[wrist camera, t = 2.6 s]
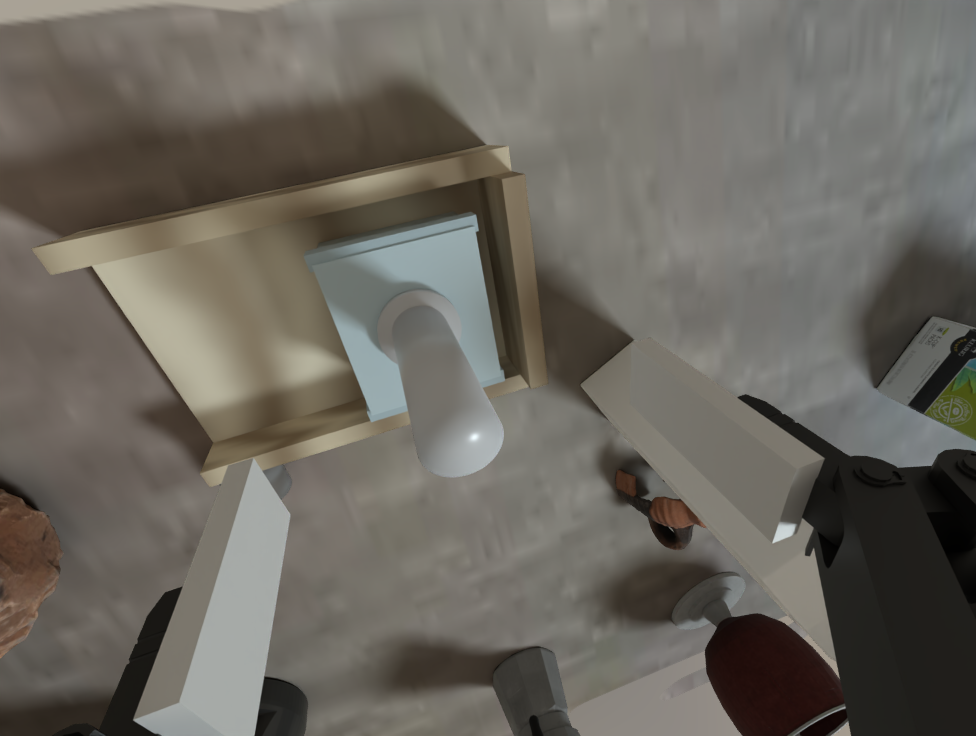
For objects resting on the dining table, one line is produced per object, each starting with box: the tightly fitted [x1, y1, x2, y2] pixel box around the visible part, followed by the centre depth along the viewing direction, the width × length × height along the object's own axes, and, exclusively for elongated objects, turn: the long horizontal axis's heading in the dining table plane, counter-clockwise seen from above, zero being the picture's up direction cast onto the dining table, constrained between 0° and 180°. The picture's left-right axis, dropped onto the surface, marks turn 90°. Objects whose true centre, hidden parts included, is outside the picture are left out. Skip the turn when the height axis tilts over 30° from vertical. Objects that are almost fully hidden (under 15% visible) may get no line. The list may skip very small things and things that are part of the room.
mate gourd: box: [672, 572, 849, 736], centre depth 54 cm, size 16×14×20 cm
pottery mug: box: [616, 470, 706, 550], centre depth 43 cm, size 12×10×8 cm
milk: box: [580, 340, 836, 661], centre depth 28 cm, size 6×6×22 cm
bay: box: [31, 145, 548, 499], centre depth 25 cm, size 22×18×6 cm
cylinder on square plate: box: [304, 211, 505, 477], centre depth 20 cm, size 8×10×15 cm
